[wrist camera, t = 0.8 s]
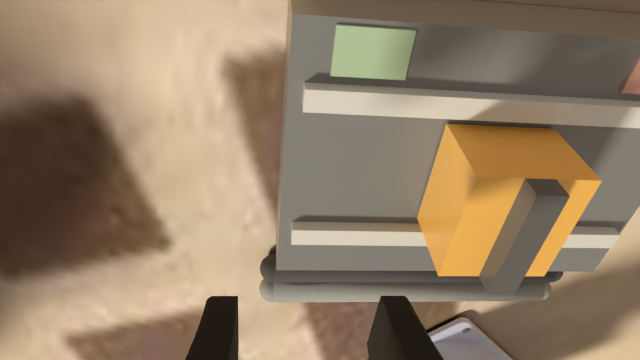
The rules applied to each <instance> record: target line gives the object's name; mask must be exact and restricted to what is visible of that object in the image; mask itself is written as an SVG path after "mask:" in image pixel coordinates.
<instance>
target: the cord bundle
mask: <svg viewBox="0 0 640 360" xmlns="http://www.w3.org/2000/svg"><path fill="white" fill-rule="evenodd" d="M260 271H261V274H262V276H263V278H264V279H263V280H262V282H261V284H260V294H261V296H262V297H263V298H264V299H265V300H266V301H268V302H379V300H380V297H381V296H405V297H407V298H408V300H409V302H424V301H542V300H545V299H547V298H548V297H549V296H550V293H551V285H550V283H551V282H555V281H558V280H559V279H560V278H561V277H562V275H563V271H547V273H546V274H545V276H525V277H524V279H523V281H522V282H521V284H520V286H519V288H518V289H517V291H516V293H515V294H513V295H487V293H486V291H485V289H484V287H483V285H482V282H481V280H480V278H479V276H438V274H437V271H338V270H276V254H272V255H269V256H267V257H265V258H264V259H263V261H262V263H261V265H260Z"/></svg>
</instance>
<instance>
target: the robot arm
mask: <svg viewBox="0 0 640 360" xmlns="http://www.w3.org/2000/svg"><path fill="white" fill-rule="evenodd" d="M367 345H368V354H369V360H513V359H512V358H511V357H510V356H509V355H507V354H506V353H505V352H504V351H503V350H502V349H501V348H500V347H499V346H498V345H496V344H495V343H494V342H493V341H492V340H491V339H490V338H489V337H488V336H487V335H485V334H484V333H483V332H482V331H481V330H480V329H479V328H478V327H477V326H476V325H474V324H473V323H472V322H471V321H470V320H469V319H468V318H465V317H460V318H457V319H455V320H453V321H451V322H449V323H447V324H445V325H443V326H441V327H439V328H437V329H435V330H433V331H431V332H429V333H427V332H426V330H425V328H424V326H423V325H422V323H421V321H420V320H419V318H418V316H417V314H416V313H415V311H414V309H413V307H412V305H411V304H410V302H409V300H408V298H407V297H405V296H381V297H380V300H379V304H378V307H377V311H376V314H375V318H374V321H373V325H372V328H371V332H370V335H369V339H368V342H367ZM185 360H238V296H211V297H210V298H208V299H207V301H206V305H205V309H204V312H203V315H202V318H201V321H200V324H199V327H198V330H197V332H196V335H195V338H194V340H193V342H192V345H191V347H190V350H189V352H188V355H187V357H186V359H185Z"/></svg>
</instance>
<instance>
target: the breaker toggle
mask: <svg viewBox="0 0 640 360" xmlns="http://www.w3.org/2000/svg"><path fill="white" fill-rule="evenodd" d="M601 182H602V180H601V179H600V178H599V177H598V176H597V175H596V173H595V172H594V171H593V170H592V169H591V168H590V167H589V166H588V165H587V164H586V163H585V162H584V160H583V159H582V158H581V157H580V156H579V155H578V154H577V153H576V152H575V151H574V150H573V149H572V148H571V146H570V145H569V144H568V143H567V142H566V141H565V140H564V139H563V138H562V137H561V136H560V135H559V133H558V132H557V131H556V130H555V129H550V128H529V127H507V126H486V125H464V124H446V126H445V129H444V133H443V136H442V139H441V142H440V146H439V149H438V152H437V155H436V158H435V162H434V165H433V168H432V171H431V174H430V178H429V181H428V184H427V187H426V191H425V194H424V197H423V200H422V203H421V207H420V210H419V213H418V216H417V220H418V222H419V225H420V228H421V230H422V233H423V236H424V239H425V241H426V244H427V247H428V250H429V252H430V255H431V258H432V261H433V263H434V266H435V269H436V271H437V274H438V276H479V278H480V280H481V282H482V285H483V287H484V289H485V291H486V293H487V295H513V294H515V293H516V291H517V289H518V288H519V286H520V284H521V282H522V281H523V279H524V277H525V276H545V274H546V273H547V271H548V269H549V268H550V266H551V264H552V263H553V261H554V259H555V258H556V256H557V254H558V253H559V251H560V250H561V248H562V246H563V245H564V243H565V241H566V240H567V238H568V236H569V235H570V233H571V231H572V230H573V228H574V226H575V225H576V223H577V221H578V220H579V218H580V217H581V215H582V213H583V212H584V210H585V208H586V207H587V205H588V203H589V202H590V200H591V198H592V197H593V195H594V193H595V192H596V190H597V189H598V187H599V185H600V184H601Z"/></svg>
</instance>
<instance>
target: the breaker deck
mask: <svg viewBox="0 0 640 360" xmlns="http://www.w3.org/2000/svg"><path fill="white" fill-rule="evenodd" d="M446 124H464V125H486V126H507V127H529V128H550V129H555V130H556V131H557V132H558V133H559V135H560V136H561V137H562V138H563V139H564V140H565V141H566V142H567V143H568V144H569V145H570V146H571V148H572V149H573V150H574V151H575V152H576V153H577V154H578V155H579V156H580V157H581V158H582V159H583V160H584V162H585V163H586V164H587V165H588V166H589V167H590V168H591V169H592V170H593V171H594V172H595V173H596V175H597V176H598V177H599V178H600V179H601V180H602V182H601V184H600V185H599V187H598V189H597V190H596V192H595V193H594V195H593V197H592V198H591V200H590V202H589V203H588V205H587V207H586V208H585V210H584V212H583V213H582V215H581V217H580V218H579V220H578V221H577V223H576V225H575V226H574V228H573V230H572V231H571V233H570V235H569V236H568V238H567V240H566V241H565V243H564V245H563V246H562V248H561V250H560V251H559V253H558V254H557V256H556V258H555V259H554V261H553V263H552V264H551V266H550V268H549V269H548V271H594V270H595V268H596V267H597V266H598V264H599V263H600V261H601V260H602V258H603V257H604V256H605V254H606V253H607V251H608V250H609V248H612V247H613V246H614V244H615V243H616V241H617V240H618V238H619V237H620V236H621V235H620V233H621V231H622V230H623V228H624V227H625V226H626V224H627V223H628V221H629V220H630V218H631V217H632V216H633V214H634V213H635V211H636V210H637V208H638V207H639V206H640V14H636V13H624V12H612V11H600V10H588V9H576V8H564V7H552V6H540V5H528V4H516V3H503V2H491V1H479V0H289V1H288V18H287V36H286V54H285V72H284V90H283V107H282V125H281V143H280V161H279V179H278V196H277V214H276V270H338V271H436V269H435V266H434V263H433V261H432V258H431V255H430V252H429V250H428V247H427V244H426V241H425V239H424V236H423V233H422V230H421V228H420V225H419V222H418V220H417V216H418V213H419V210H420V207H421V203H422V200H423V197H424V194H425V191H426V187H427V184H428V181H429V178H430V174H431V171H432V168H433V165H434V162H435V158H436V155H437V152H438V149H439V146H440V142H441V139H442V136H443V133H444V129H445V126H446Z"/></svg>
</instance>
